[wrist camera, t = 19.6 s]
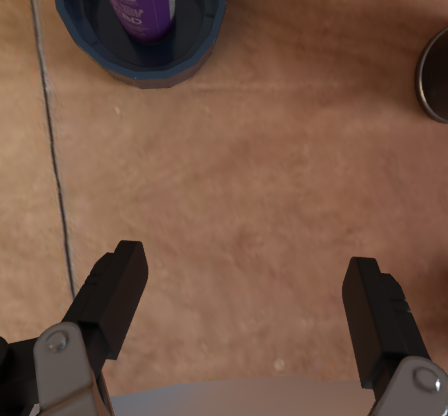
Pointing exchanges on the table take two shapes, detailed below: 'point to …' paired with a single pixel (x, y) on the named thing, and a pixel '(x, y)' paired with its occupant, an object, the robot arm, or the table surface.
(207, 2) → the bowl
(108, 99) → the table surface
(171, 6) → the container
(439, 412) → the robot arm
